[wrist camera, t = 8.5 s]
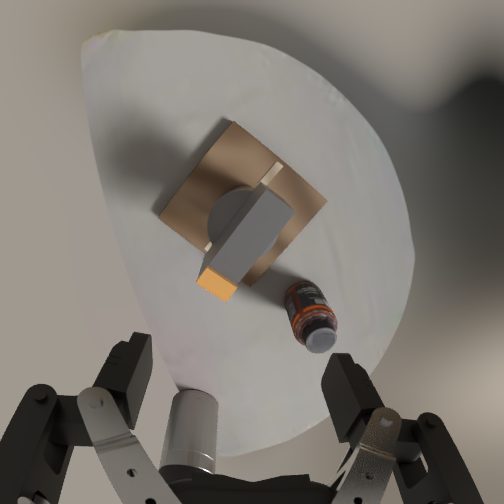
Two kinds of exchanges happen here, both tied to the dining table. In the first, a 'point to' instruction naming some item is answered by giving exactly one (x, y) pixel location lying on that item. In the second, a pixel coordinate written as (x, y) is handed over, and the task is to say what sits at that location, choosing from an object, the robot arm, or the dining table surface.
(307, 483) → the robot arm
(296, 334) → the supplement bottle
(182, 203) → the base
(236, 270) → the wing cap
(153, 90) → the dining table surface
